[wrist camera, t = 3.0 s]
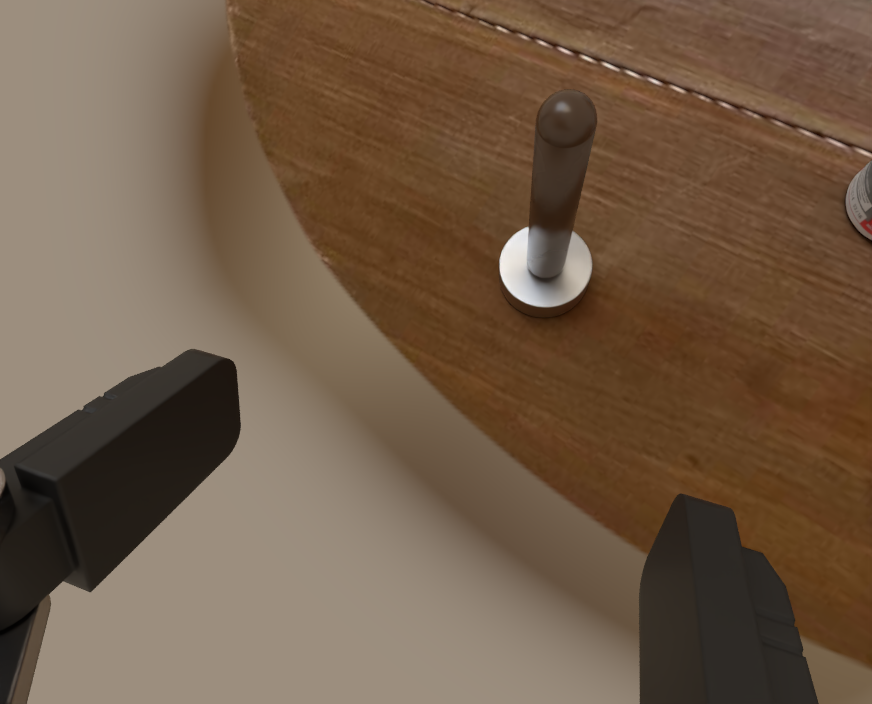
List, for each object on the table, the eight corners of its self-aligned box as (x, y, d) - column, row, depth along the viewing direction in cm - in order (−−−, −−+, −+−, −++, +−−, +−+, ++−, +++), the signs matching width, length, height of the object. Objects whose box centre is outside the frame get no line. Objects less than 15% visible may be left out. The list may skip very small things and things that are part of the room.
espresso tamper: (488, 304, 28) (472, 150, 16) (514, 228, 29) (517, 27, 17) (574, 328, 27) (627, 184, 15) (598, 248, 28) (666, 52, 16)
